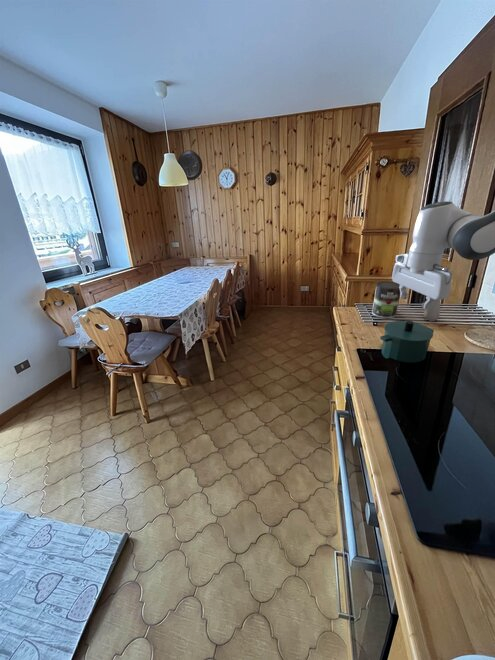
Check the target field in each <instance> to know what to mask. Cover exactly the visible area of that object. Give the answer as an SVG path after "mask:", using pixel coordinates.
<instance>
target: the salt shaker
mask: <svg viewBox="0 0 495 660" xmlns="http://www.w3.org/2000/svg"><path fill="white" fill-rule="evenodd" d="M440 312H441V300H435V301H433V302H432V303H431V304H430V308H429V309H426V310H425V309H424V312H423V317H424V320H425V319H427V320H430V321H429V322H432V321H434V322H436V321H437V320H438V319H439V317H440V314H441V313H440ZM427 320H426V321H427ZM435 320H436V321H435Z"/></svg>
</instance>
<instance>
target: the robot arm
mask: <svg viewBox="0 0 495 660" xmlns="http://www.w3.org/2000/svg"><path fill="white" fill-rule="evenodd" d="M414 223H415V224H414V227H413V232H412V243H411V245H410V247H409V251H408V252H407V253H401V254H397V255H396V256H395V258H394V260H395V263H394V266H393V269H392V274H391V280H392V282H395V283H398V284H400V286H399V288H400V297H399V299H400V298H401V299H402V300H407V299H408V297H409V293H408V292H407V291H408V290H407V289H409V290H413V291H414V292H416V293H418V294H421V295H423V296H426V297H425V299H426V300H425V302H421V306H420V307H421V309H423V310H424V311H425V310H426V309H429V308H430V304H431V303H432V302H433V301H435V300H440V301H441V300H446V299H447V298H449V297H450V293H451V287H452V281H453V279H452V278H453V273H452V271H451V270H450V268H449V267H447V266H442V265H441V263H442V260H443V256H444V252H445V250H446V249H453V250H454V251H455V252H456V253H457V254H458V256H459V257H461V258H463V259H465V260H470V261H478V260H484V259H486V258H488V257H490V256H492V255H494V254H495V209H494V210H493V211H491V212H490V213H488V214H485V215H483V216H481V215H478V214H476V213H472V212H469V211H467V210H464V209H462V208H460V207H459V206H457V205H456V204H455V203H454V202H452V201H447V200H446V201H445V200H444V201H438V202H433V203H429V204H427V205H424V206H423V207H422V208H421V209H420V210H419V212H418V215H417V217H416V220H415V222H414Z"/></svg>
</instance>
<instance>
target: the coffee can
mask: <svg viewBox="0 0 495 660" xmlns="http://www.w3.org/2000/svg"><path fill="white" fill-rule="evenodd" d="M399 286H400V284H398V283H395V282H393V281H388V280H385V281H383V280H382V281H378V282H376V284H375V292H374V299H373V303H372V304H373V305H372V310H371V314H372V315H373V316H374V317H376V318H380V319H393V318H395V317H396V316H397V311H398V306H399V301H400V295H401V292H400V288H399Z"/></svg>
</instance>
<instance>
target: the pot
mask: <svg viewBox="0 0 495 660" xmlns="http://www.w3.org/2000/svg"><path fill="white" fill-rule="evenodd" d="M427 327H428V326H427ZM428 328H429V329H431V330H432V332H433V333H434V329H432V328H430V327H428ZM379 339H380V340H381V341H382V346H381V355H382V357H383V358H385V359H393V360H394V361H398V362H403V363H420V362H422V361H424V360H426V357H427V355H428V354H427V353H428V351H429V347H430V342H431V339H430V340H428V341H424V342H409V341H403V340H400V339H397V338H394V337H392V336H390V335H389V334H387V333H386V332H385V331H384V335H380V338H379Z"/></svg>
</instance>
